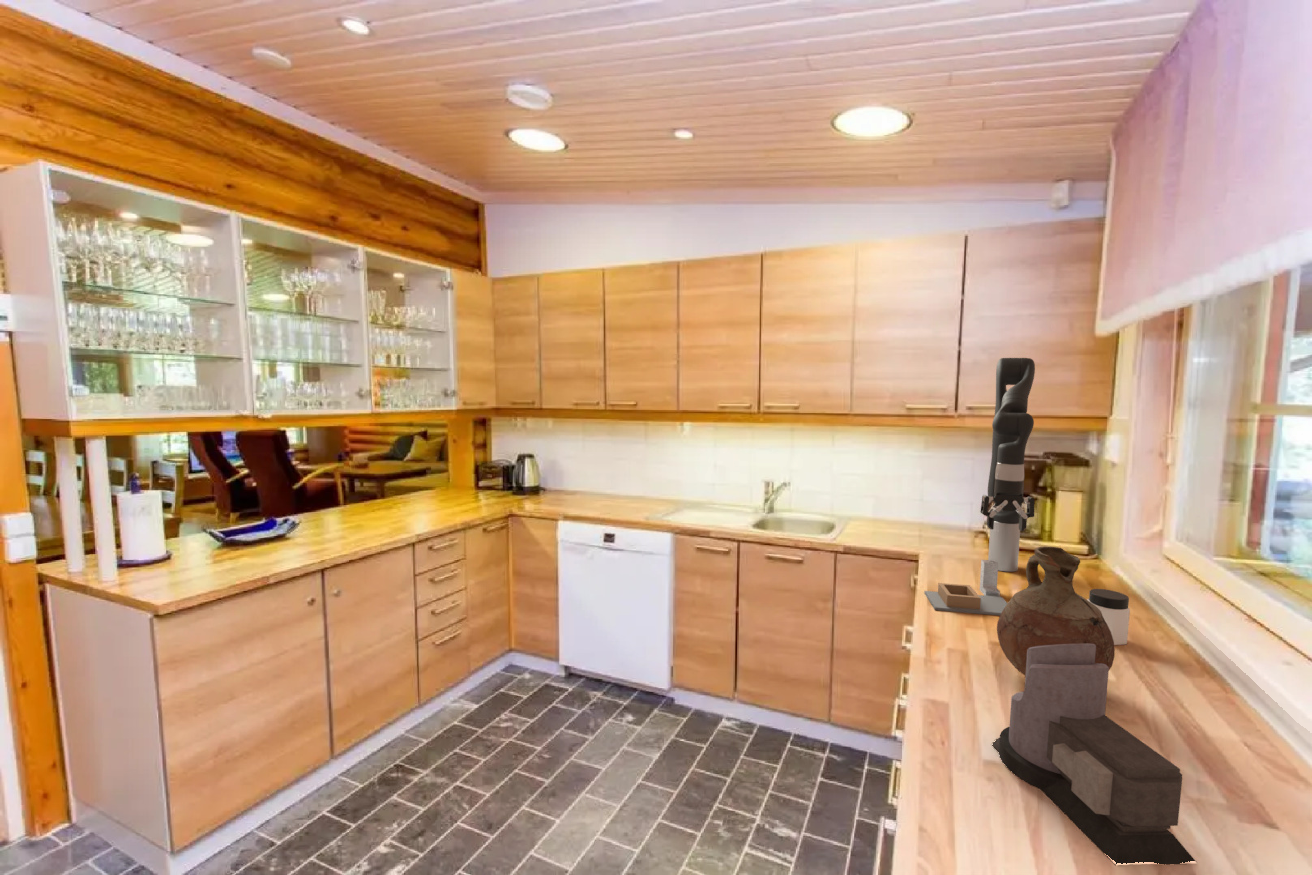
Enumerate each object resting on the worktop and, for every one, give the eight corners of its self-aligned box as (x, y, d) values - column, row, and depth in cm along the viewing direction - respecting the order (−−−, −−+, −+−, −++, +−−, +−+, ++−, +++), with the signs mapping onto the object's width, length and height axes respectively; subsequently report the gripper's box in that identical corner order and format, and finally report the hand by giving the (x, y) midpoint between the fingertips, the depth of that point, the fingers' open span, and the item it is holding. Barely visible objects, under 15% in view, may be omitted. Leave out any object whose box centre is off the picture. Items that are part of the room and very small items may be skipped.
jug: (1056, 716, 116) (1066, 570, 113) (971, 666, 137) (978, 541, 134) (1136, 701, 122) (1149, 562, 119) (1043, 655, 143) (1052, 535, 140)
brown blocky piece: (975, 735, 110) (983, 610, 108) (1058, 734, 111) (1067, 609, 108) (1101, 867, 80) (1115, 698, 78) (1213, 864, 81) (1231, 696, 78)
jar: (1131, 640, 151) (1134, 595, 150) (1122, 649, 146) (1126, 602, 145) (1089, 628, 158) (1092, 585, 157) (1080, 636, 153) (1083, 592, 152)
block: (979, 589, 187) (981, 559, 186) (993, 590, 186) (995, 560, 186) (985, 596, 182) (987, 565, 181) (999, 597, 181) (1001, 566, 180)
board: (924, 593, 184) (925, 580, 184) (1001, 599, 179) (1002, 586, 179) (934, 609, 171) (935, 596, 170) (1018, 617, 166) (1019, 602, 165)
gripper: (1030, 476, 180) (1026, 527, 182) (979, 474, 183) (976, 525, 185) (1040, 480, 173) (1036, 534, 175) (988, 479, 176) (984, 531, 178)
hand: (1005, 529), depth 180 cm, fingers open, 8 cm apart
